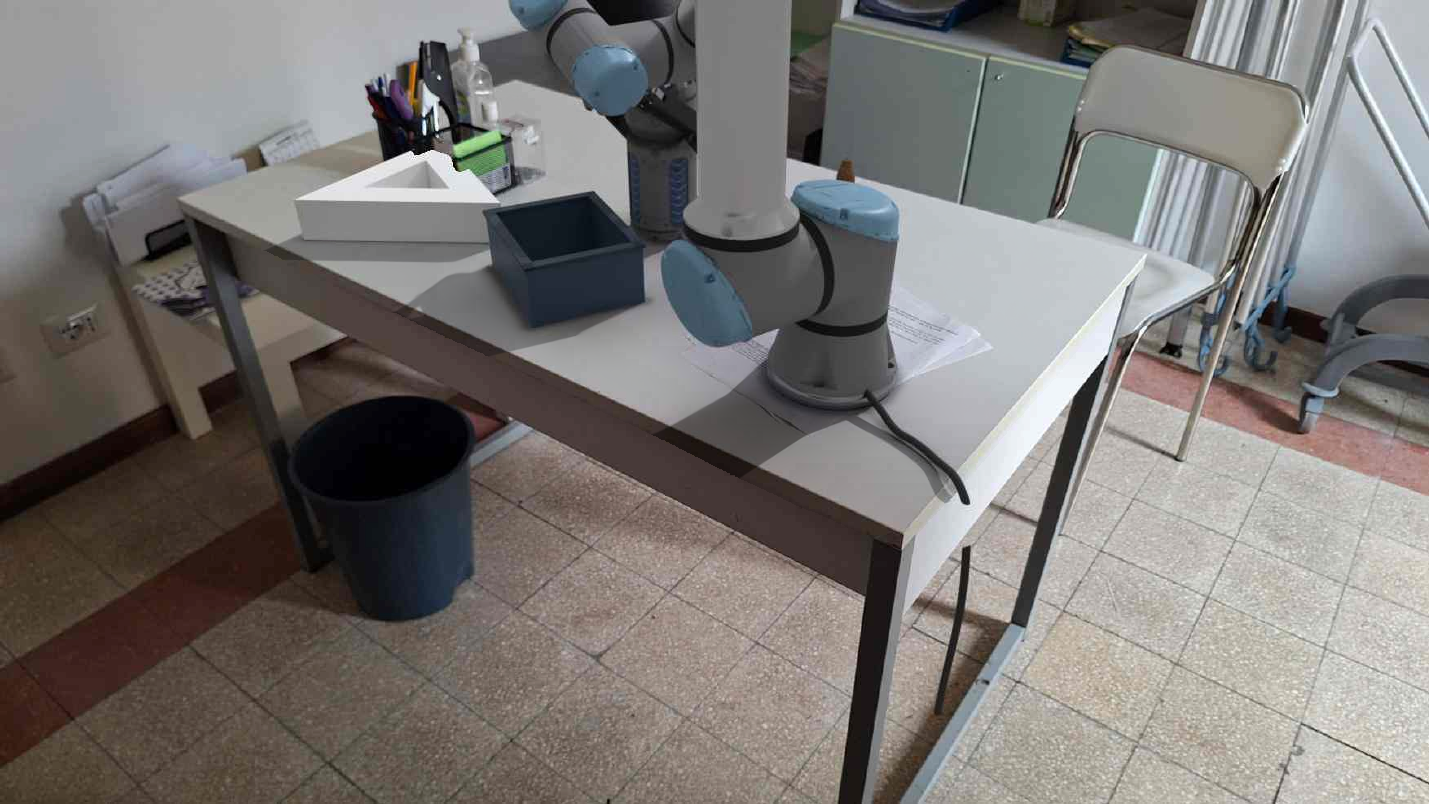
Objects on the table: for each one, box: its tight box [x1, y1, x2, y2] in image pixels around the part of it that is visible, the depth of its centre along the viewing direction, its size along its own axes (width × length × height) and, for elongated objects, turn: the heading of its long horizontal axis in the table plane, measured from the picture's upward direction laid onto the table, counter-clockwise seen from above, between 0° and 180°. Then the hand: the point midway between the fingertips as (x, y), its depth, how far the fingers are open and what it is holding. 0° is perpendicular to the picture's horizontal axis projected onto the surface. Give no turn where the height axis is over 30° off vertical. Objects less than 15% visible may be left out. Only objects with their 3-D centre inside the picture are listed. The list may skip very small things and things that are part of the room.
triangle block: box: [293, 150, 502, 244], centre depth 150 cm, size 30×26×6 cm
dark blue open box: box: [483, 190, 647, 328], centre depth 133 cm, size 19×16×9 cm
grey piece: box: [624, 80, 698, 242], centre depth 144 cm, size 10×13×25 cm
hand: (668, 141), depth 145 cm, fingers open, 13 cm apart
